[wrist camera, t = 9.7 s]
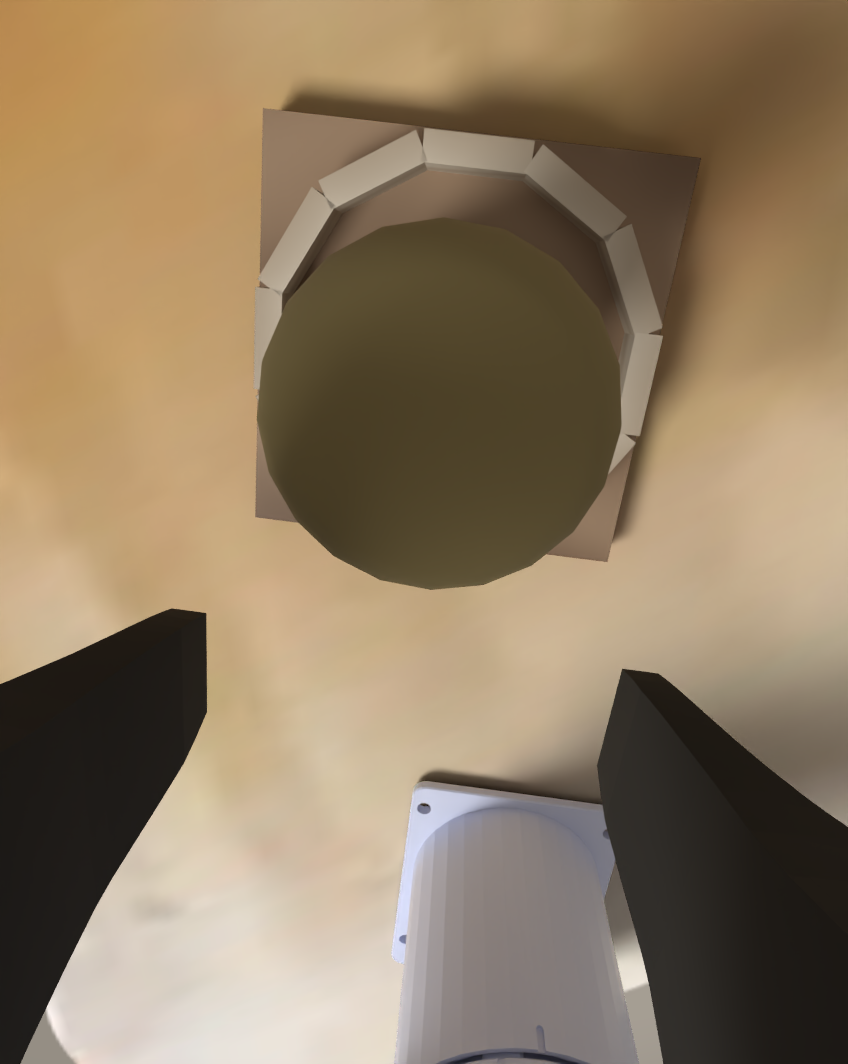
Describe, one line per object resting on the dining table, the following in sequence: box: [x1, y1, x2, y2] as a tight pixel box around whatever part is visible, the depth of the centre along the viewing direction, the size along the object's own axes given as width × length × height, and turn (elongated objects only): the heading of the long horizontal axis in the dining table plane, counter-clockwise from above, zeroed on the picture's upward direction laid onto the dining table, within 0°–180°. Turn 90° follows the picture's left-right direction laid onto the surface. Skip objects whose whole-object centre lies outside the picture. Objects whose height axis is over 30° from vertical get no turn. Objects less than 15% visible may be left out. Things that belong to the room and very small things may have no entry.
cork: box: [257, 217, 622, 590], centre depth 13 cm, size 6×6×11 cm
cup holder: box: [254, 108, 701, 562], centre depth 18 cm, size 11×11×2 cm
